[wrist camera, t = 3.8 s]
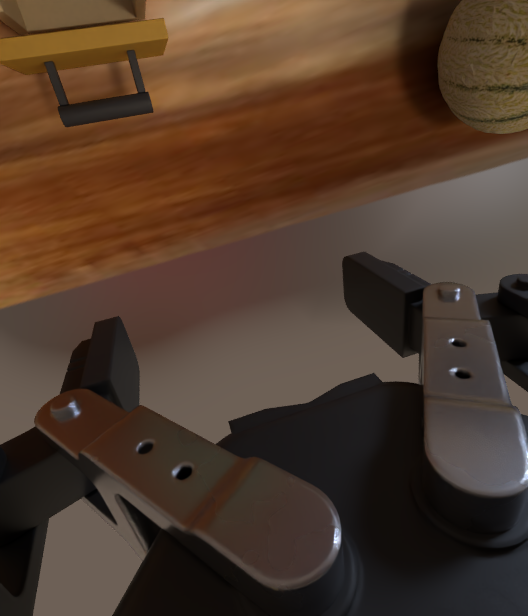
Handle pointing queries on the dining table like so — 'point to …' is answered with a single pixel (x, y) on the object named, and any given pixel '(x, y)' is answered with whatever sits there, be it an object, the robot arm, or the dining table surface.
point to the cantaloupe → (487, 64)
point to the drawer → (82, 48)
